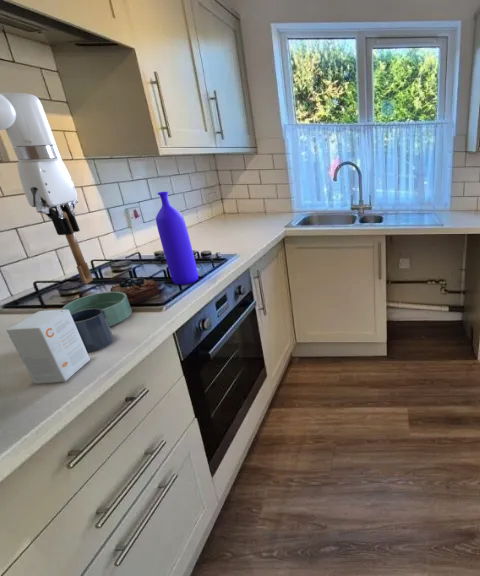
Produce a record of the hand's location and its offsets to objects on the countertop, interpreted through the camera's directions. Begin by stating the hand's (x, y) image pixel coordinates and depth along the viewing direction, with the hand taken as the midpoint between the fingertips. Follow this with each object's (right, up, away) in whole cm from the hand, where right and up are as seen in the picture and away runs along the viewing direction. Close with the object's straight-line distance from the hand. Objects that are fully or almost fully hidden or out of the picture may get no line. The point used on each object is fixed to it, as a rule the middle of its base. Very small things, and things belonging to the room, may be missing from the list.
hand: (69, 232), depth 90 cm
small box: (+9, -32, -11) cm, 35 cm away
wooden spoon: (0, -12, +5) cm, 13 cm away
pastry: (0, -16, +25) cm, 30 cm away
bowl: (+1, -23, +10) cm, 25 cm away
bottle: (+10, -11, +36) cm, 39 cm away
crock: (+8, -27, -1) cm, 29 cm away
